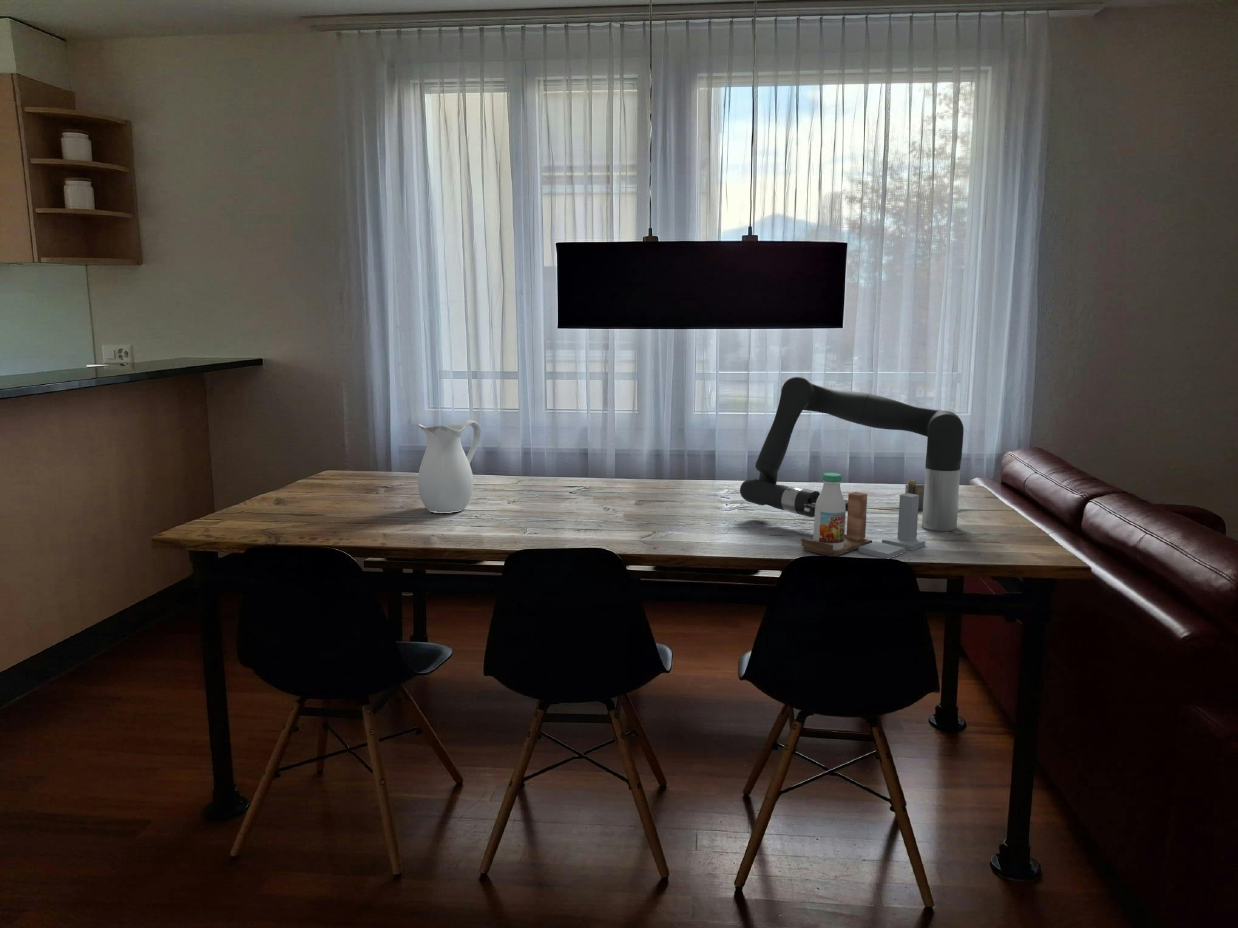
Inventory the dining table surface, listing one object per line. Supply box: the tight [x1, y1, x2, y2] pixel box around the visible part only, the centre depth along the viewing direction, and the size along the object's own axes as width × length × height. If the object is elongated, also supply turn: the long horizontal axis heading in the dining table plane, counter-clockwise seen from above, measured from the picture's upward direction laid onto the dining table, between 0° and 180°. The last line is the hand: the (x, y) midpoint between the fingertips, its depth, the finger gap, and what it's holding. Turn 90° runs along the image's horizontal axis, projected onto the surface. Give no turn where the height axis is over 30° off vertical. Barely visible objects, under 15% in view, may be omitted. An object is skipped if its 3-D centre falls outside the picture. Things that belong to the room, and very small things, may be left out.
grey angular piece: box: [858, 492, 926, 559], centre depth 218 cm, size 18×8×13 cm, turn 132°
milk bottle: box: [812, 472, 847, 550], centre depth 215 cm, size 8×8×20 cm
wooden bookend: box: [800, 491, 873, 557], centre depth 219 cm, size 20×9×13 cm, turn 132°
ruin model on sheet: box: [904, 479, 924, 509], centre depth 265 cm, size 11×3×10 cm, turn 86°
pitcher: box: [417, 419, 482, 512], centre depth 264 cm, size 24×17×28 cm
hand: (850, 512), depth 225 cm, fingers open, 8 cm apart
